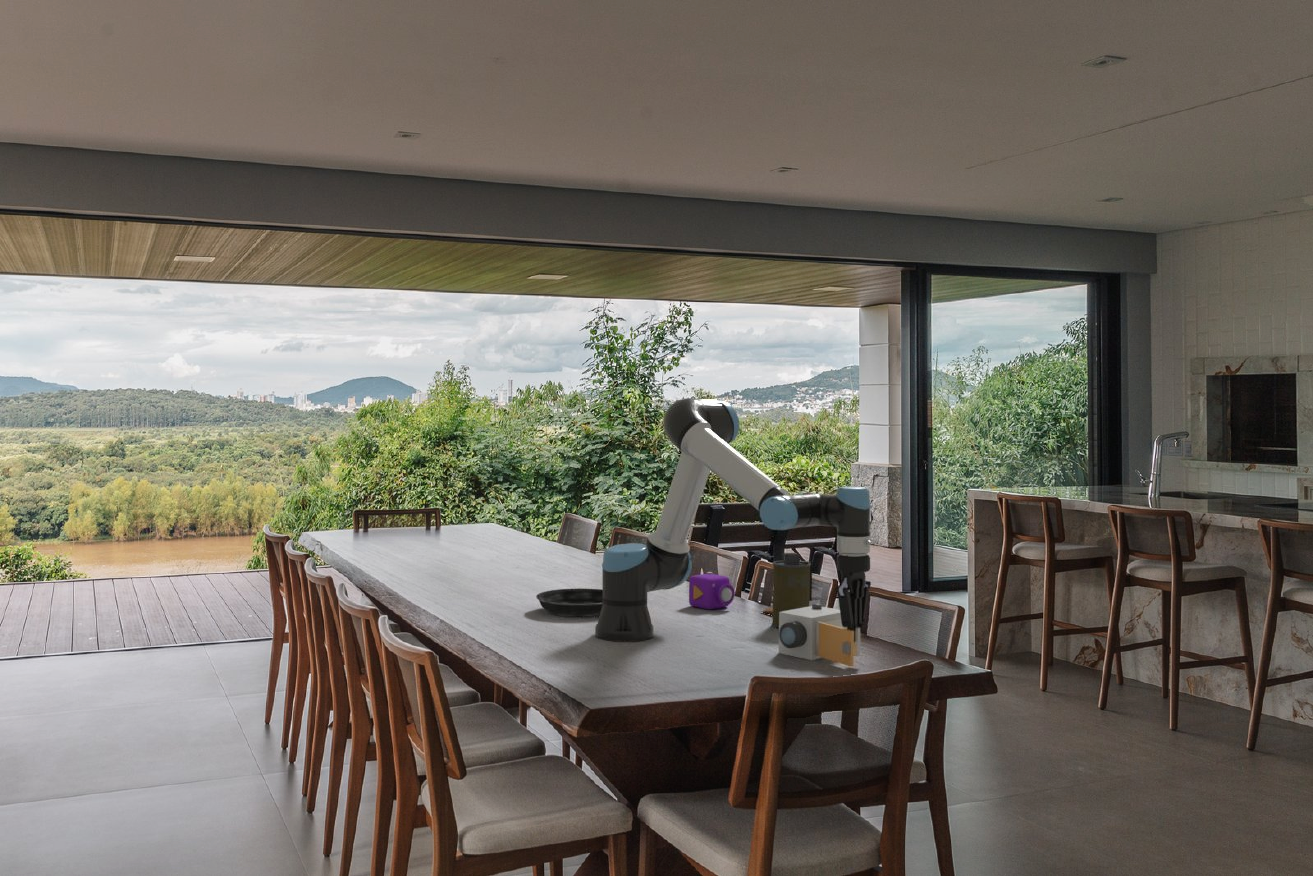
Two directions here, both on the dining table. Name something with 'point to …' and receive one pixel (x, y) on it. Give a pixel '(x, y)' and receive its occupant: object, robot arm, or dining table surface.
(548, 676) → the dining table surface
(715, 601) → the toy camera
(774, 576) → the canister
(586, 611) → the frying pan
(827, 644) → the battery door
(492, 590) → the dining table surface
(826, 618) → the camera body
